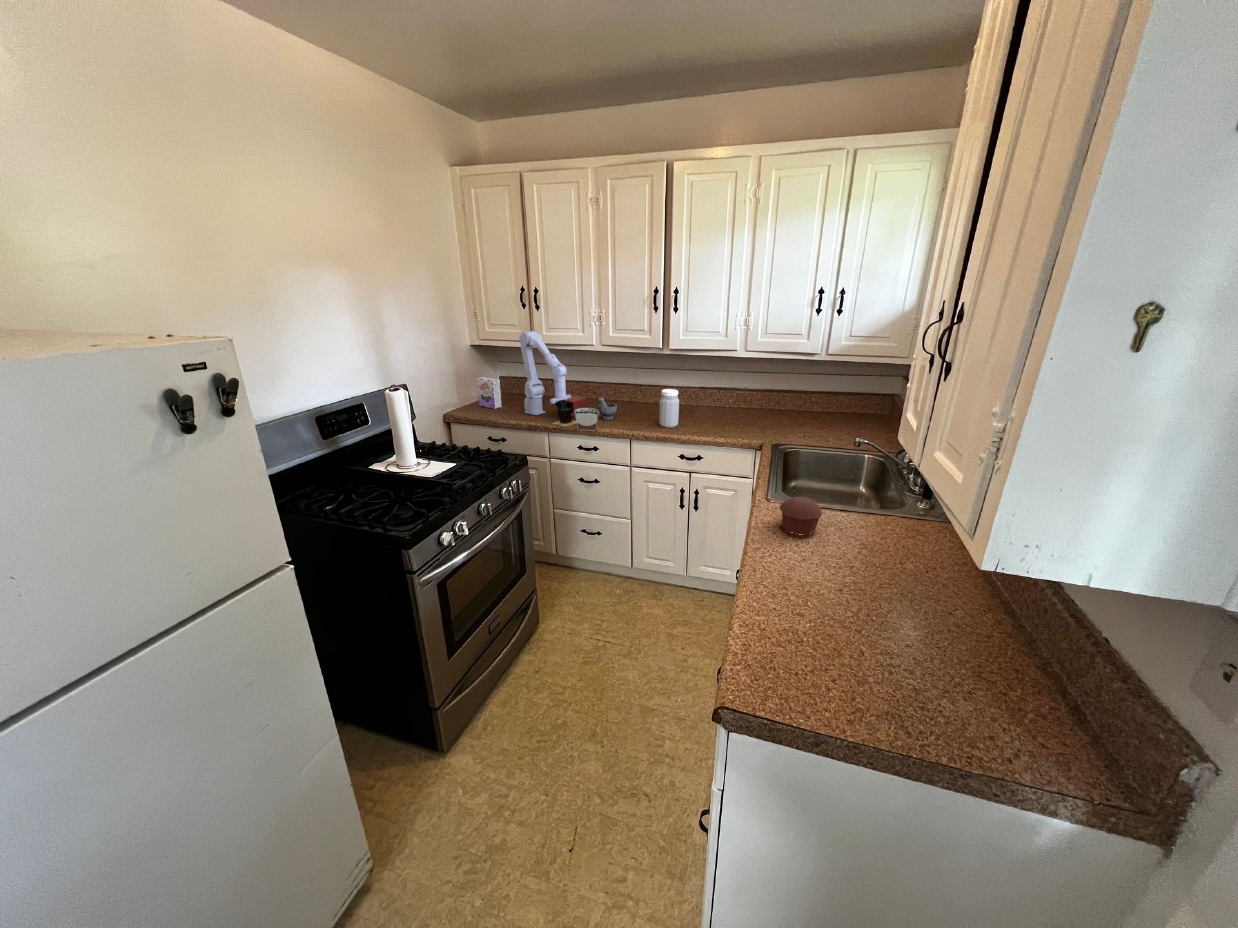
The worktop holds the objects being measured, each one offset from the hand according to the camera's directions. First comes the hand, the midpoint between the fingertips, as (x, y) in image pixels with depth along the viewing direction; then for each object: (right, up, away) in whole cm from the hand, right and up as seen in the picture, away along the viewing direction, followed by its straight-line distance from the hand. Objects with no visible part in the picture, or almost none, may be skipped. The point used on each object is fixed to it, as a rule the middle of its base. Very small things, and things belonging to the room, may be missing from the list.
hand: (561, 414), depth 255 cm
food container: (+15, -9, -16) cm, 24 cm away
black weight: (+3, -5, -8) cm, 10 cm away
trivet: (+3, -6, -8) cm, 10 cm away
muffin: (+84, -46, -113) cm, 148 cm away
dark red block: (+5, +1, +9) cm, 10 cm away
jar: (+56, -7, -11) cm, 58 cm away
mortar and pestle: (+24, -2, +2) cm, 24 cm away
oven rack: (+4, +1, +6) cm, 7 cm away
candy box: (-44, +7, +25) cm, 51 cm away
